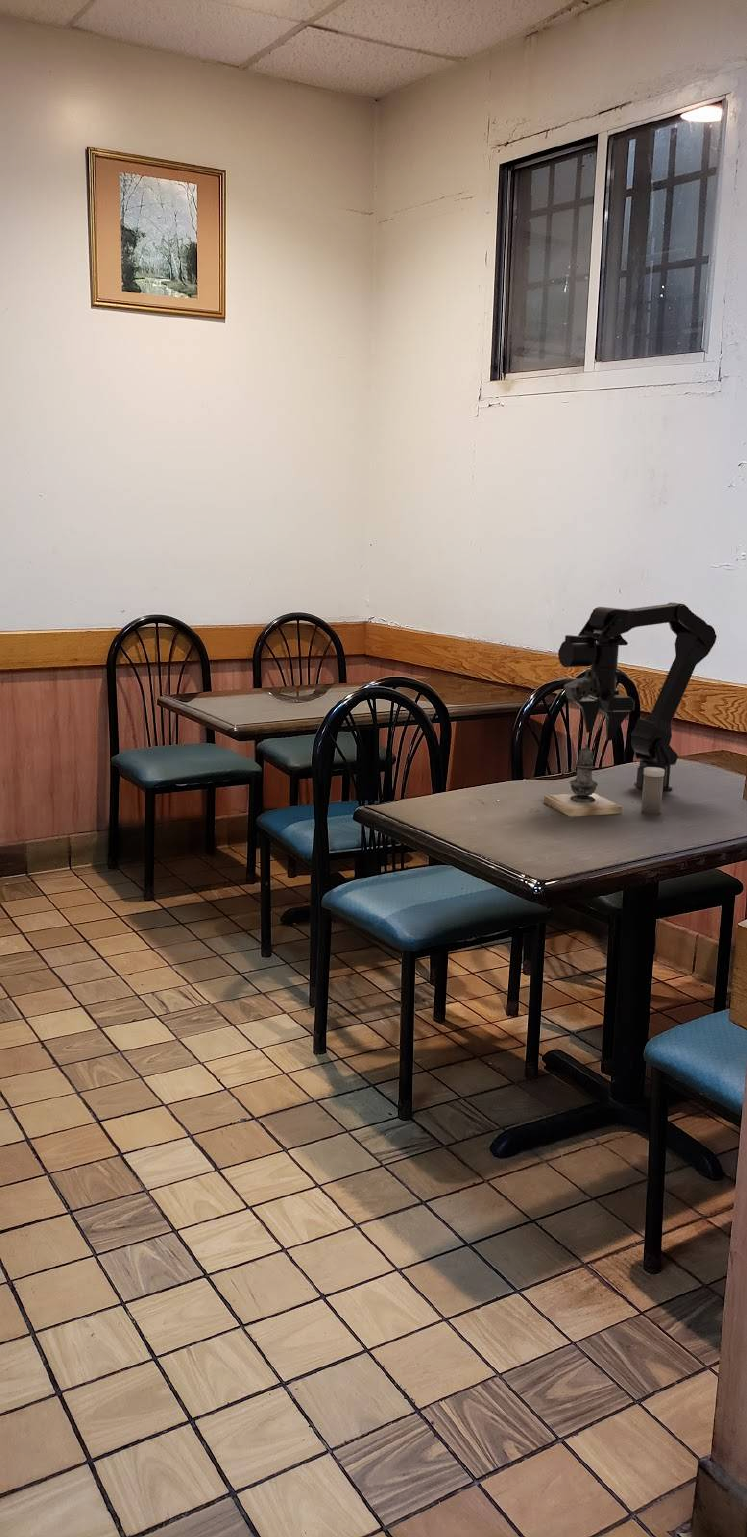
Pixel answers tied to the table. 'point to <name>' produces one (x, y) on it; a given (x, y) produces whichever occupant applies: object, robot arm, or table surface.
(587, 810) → the maple picture frame
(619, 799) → the table surface
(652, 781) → the pepper shaker
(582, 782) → the salt shaker
